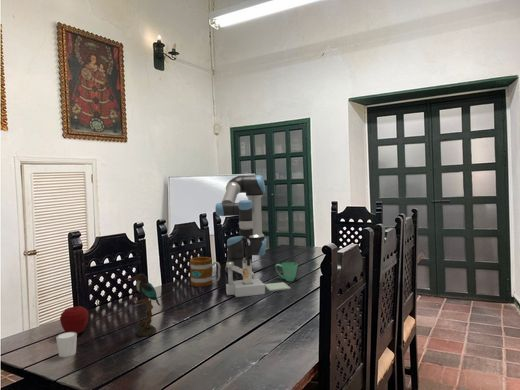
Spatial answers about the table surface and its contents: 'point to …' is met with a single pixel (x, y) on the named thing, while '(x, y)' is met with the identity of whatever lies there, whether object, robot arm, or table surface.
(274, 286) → the mat
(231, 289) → the socket
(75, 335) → the shot glass
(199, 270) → the mug
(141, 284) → the sculpture
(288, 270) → the mug
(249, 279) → the plug
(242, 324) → the table surface
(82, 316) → the apple
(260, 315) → the table surface
